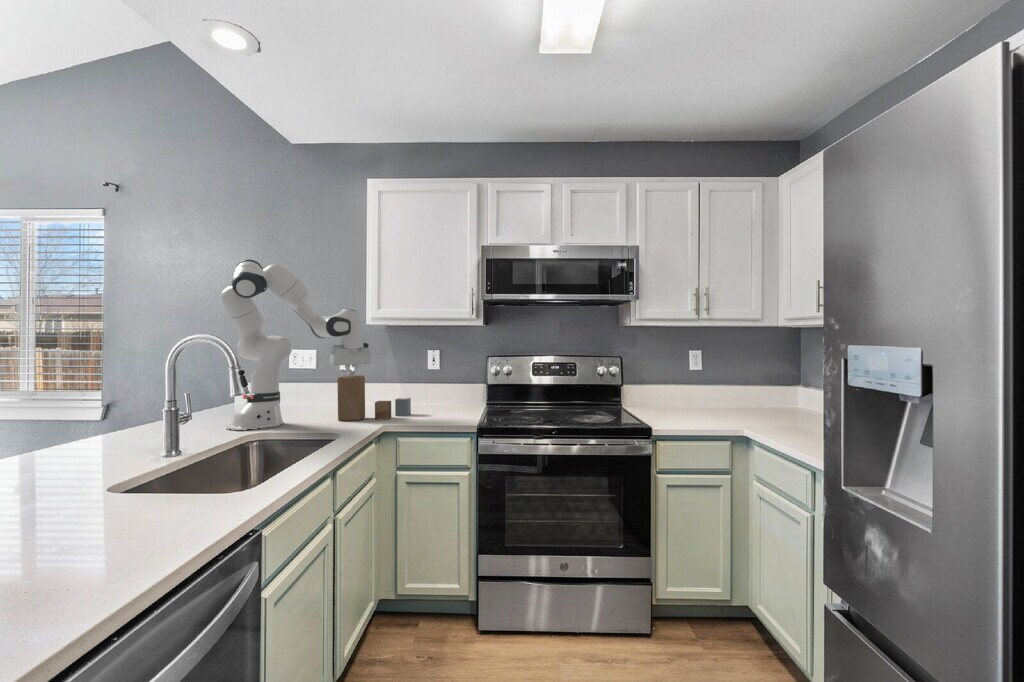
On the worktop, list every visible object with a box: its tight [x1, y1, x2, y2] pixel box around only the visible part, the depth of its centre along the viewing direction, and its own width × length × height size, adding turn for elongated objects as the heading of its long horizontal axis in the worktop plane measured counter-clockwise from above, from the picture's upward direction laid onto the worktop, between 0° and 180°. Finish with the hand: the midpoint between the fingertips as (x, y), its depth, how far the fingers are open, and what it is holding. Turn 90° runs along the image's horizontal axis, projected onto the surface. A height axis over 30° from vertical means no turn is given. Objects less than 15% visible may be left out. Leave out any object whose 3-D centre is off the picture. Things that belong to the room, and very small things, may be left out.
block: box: [336, 374, 366, 422], centre depth 238 cm, size 10×10×20 cm
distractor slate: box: [394, 397, 412, 417], centre depth 250 cm, size 6×6×8 cm
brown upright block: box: [374, 400, 392, 421], centre depth 240 cm, size 6×6×8 cm
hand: (351, 374), depth 238 cm, fingers closed
